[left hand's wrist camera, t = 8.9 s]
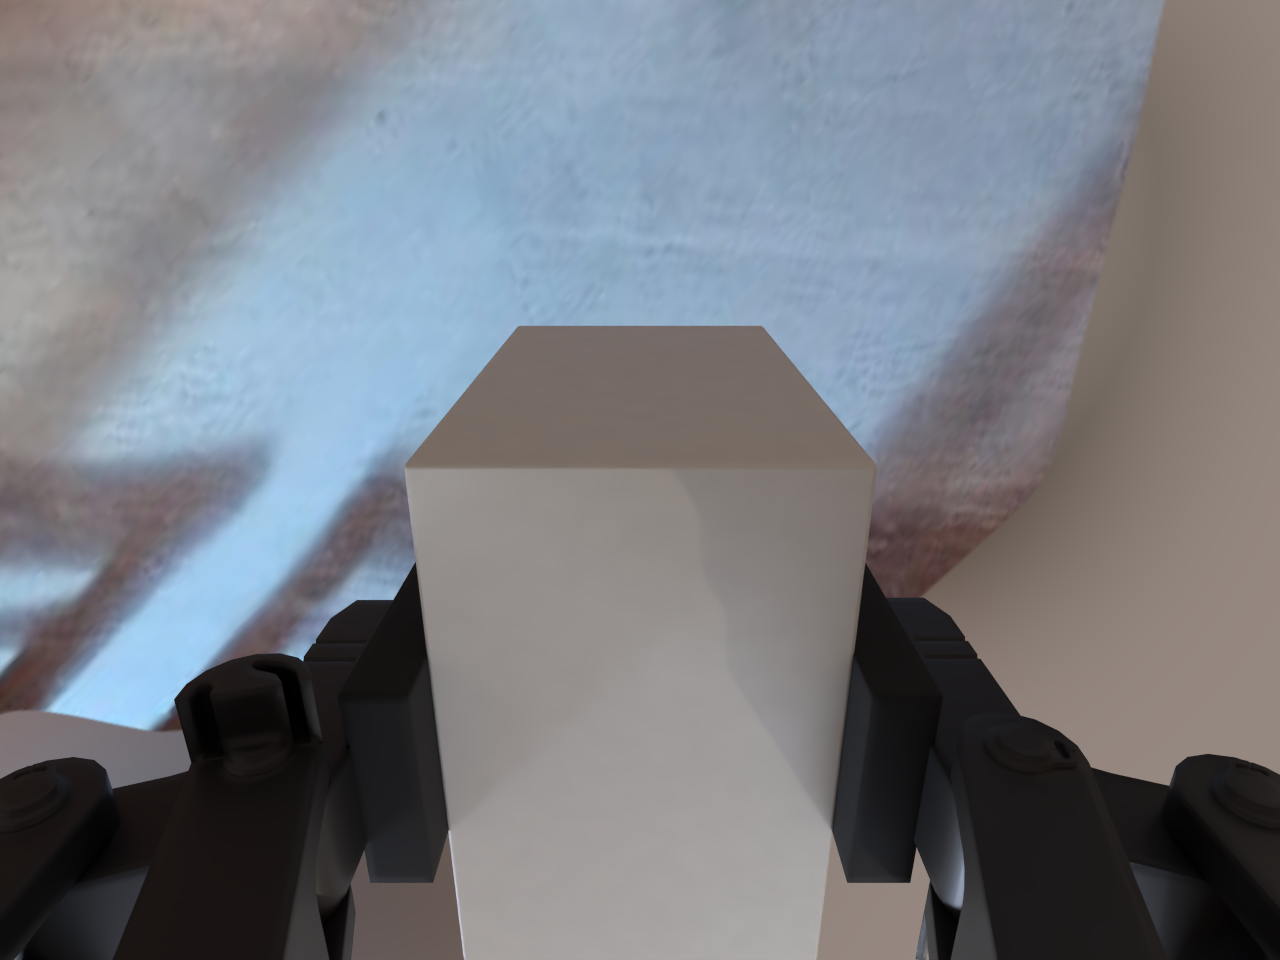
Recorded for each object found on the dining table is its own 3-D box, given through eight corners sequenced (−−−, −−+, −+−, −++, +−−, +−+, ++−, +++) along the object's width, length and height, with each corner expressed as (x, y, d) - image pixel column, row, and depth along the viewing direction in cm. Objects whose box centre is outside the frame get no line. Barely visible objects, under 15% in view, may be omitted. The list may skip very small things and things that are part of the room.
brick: (536, 640, 18) (462, 963, 11) (517, 325, 15) (401, 464, 8) (744, 640, 18) (817, 963, 11) (763, 325, 15) (879, 464, 8)
